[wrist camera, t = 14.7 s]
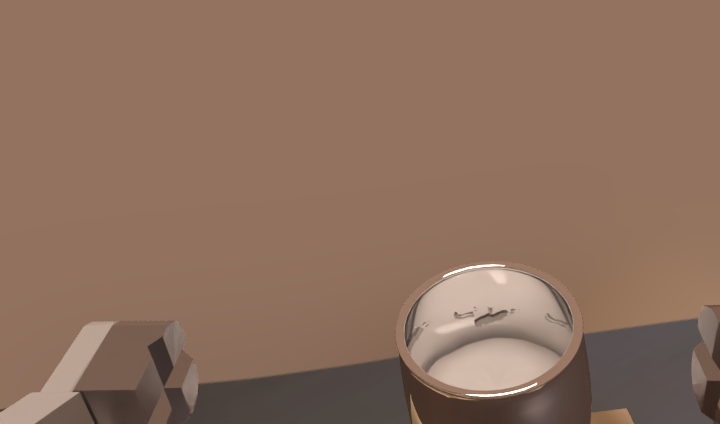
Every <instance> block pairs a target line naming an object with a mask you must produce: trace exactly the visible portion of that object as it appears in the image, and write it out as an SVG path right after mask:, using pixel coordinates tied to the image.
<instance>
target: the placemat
mask: <svg viewBox="0 0 720 424" xmlns="http://www.w3.org/2000/svg"><path fill="white" fill-rule="evenodd" d="M591 424H634V423H633V421H632V419H631V417H630V415H629V413H628V411H627V409H618V410H610V411H602V412H594V413H592V422H591Z"/></svg>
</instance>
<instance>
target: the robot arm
mask: <svg viewBox="0 0 720 424" xmlns="http://www.w3.org/2000/svg"><path fill="white" fill-rule="evenodd" d="M698 329H699V331H700V333H701V335H702V338H703V341H702V342H701V343H700V344H699V345H698V346H697V347H695V348H694V350H693V358H692V365H691V368H692V382H693V388H694V392H695V396H696V399H697V402H698V404H699V407H700V410H701V412H702V413H704V414H705V415H706V416H708V417H709V418H710V419H712V420H713V421H714V424H720V305H705V306H704V307H703V308H702V311H701V312H700V316H699V321H698ZM185 341H186V336H185V334H184V332H183V329H182V326H181V324H180V323H178V322H176V321H119V322H91V323H89V324H87V325H85V326H84V327H83V328H82V330H81V331H80V333H79V334H78V336H77V338H76V339H75V340H74V342H73V343H72V345H71V346H70V348H69V350H68V351H67V353H66V354H65V355H64V357H63V359H62V360H61V361H60V363H59V365H58V366H57V368H56V369H55V371H54V372H53V374H52V375H51V377H50V378H49V380H48V381H47V383H46V384H45V386H44V387H43V389H42V390H41V392H37V393H30V394H28V395H27V396H25V397H24V398H22V399H21V400H19V401H18V402H16V403H15V404H13V405H12V406H10V407H8V408H7V409H5V410H4V411H2V412H1V413H0V424H181V423H183V422H184V421H185V420H186V419H187V418H189V417H190V416H191V414H192V412H193V409H194V406H195V404H196V400H197V392H198V376H197V369H196V366H195V363H194V360H193V359H192V358H191V357H190V356H189V355H188V354H186V353H185V352H184V351H183V350H182V348H183V346H184V344H185Z"/></svg>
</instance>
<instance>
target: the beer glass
mask: <svg viewBox="0 0 720 424" xmlns="http://www.w3.org/2000/svg"><path fill="white" fill-rule="evenodd" d="M395 338H396V345H397V349H398V352H399V358H400V366H401V374H402V380H403V387H404V393H405V398H406V403H407V407H408V412H409V416H410V421H411V424H591V422H592V394H591V381H590V371H589V364H588V357H587V351H586V345H585V339H584V333H583V317H582V313H581V310H580V307H579V305H578V303H577V301H576V299H575V298H574V296H573V295H572V294H571V292H570V291H569V290H568V289H567V288H566V287H565V286H564V285H563V284H562V283H560V282H559V281H558V280H556V279H555V278H553V277H552V276H550V275H548V274H547V273H545V272H543V271H540V270H538V269H535V268H533V267H529V266H526V265H522V264H517V263H511V262H500V261H488V262H477V263H471V264H466V265H462V266H458V267H455V268H452V269H449V270H447V271H445V272H442V273H440V274H438V275H436V276H435V277H433V278H431V279H429V280H428V281H427V282H425V283H424V284H422V285H421V286H420V287H419V288H418V289H417V290H416V291H415V292H413V294H412V295H411V296H410V297H409V298H408V300H407V301H406V303H405V304H404V306H403V307H402V309H401V311H400V313H399V316H398V319H397V323H396V331H395Z"/></svg>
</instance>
